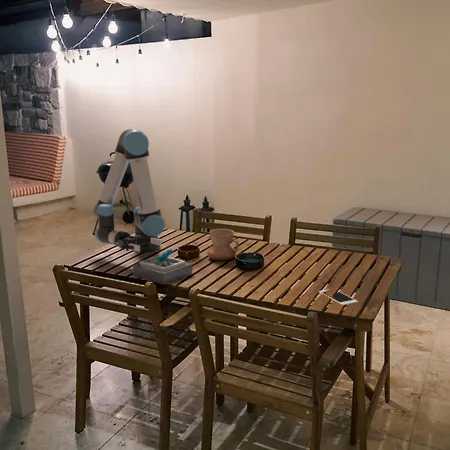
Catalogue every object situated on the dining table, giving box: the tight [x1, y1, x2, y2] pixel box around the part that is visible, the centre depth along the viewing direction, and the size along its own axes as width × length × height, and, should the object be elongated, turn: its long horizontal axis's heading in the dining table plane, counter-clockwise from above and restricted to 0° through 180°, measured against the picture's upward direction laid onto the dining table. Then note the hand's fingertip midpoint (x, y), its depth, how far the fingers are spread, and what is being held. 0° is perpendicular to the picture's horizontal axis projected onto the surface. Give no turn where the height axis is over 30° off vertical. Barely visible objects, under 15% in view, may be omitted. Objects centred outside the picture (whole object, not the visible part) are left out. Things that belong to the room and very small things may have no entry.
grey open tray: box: [132, 254, 193, 286], centre depth 227 cm, size 18×20×6 cm
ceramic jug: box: [206, 228, 240, 262], centre depth 251 cm, size 18×14×14 cm
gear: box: [154, 248, 174, 267], centre depth 224 cm, size 11×6×10 cm
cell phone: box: [318, 289, 359, 306], centre depth 200 cm, size 8×16×1 cm, turn 24°
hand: (150, 245), depth 230 cm, fingers open, 13 cm apart
